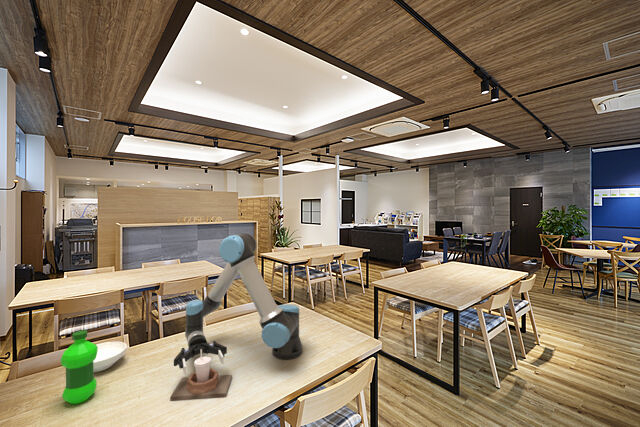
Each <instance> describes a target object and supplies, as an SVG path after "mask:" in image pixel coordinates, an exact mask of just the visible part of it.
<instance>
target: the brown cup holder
mask: <svg viewBox="0 0 640 427" xmlns="http://www.w3.org/2000/svg"><path fill="white" fill-rule="evenodd" d="M232 380H233V374H221V375H219V371H217V370H215V369H214V368H210V371H209V380H208V381H207V382H205V383H197V376H196V371H193V373H192V372H191V373H190V375H189V377H188V376H187V377H181V379H180V381H179V382H178V384H177V385H176V386H175V389H174V390H173V391H172V393H171V395H170V397H169V401H170V402H174V401H175V402H176V401H189V400H202V399H203V400H204V399H214V398H215V399H216V398H227V394H228V392H229V389H230V385H231V383H232Z"/></svg>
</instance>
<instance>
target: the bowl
mask: <svg viewBox="0 0 640 427" xmlns="http://www.w3.org/2000/svg"><path fill="white" fill-rule="evenodd" d="M95 345H96V346H97V347H98V351H97V356H96V359H95V360H94V361H93V370H94V373H98V372H99V373H100V372H102V371H105V370H107V369H108V368H110V367H112V366H113V365H114V364H115V363H116V362H117V361H118V360H120V359H121V358H122V357H124V355H125V354H126V352H127V346H128V345H127V343H125V342H122V341H106V342H101V343H96V344H95Z"/></svg>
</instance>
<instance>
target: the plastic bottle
mask: <svg viewBox="0 0 640 427" xmlns="http://www.w3.org/2000/svg"><path fill="white" fill-rule="evenodd" d="M87 337H88V330H85V329H84V330H79V331H75V332H73V333H72V336H71V338H72V341H73V343H72V344H71V345H69V346H68V348H67V349H65V350H64V351H63V353H62V356H61V358H60V364H61V366H62V367H64V368H65V387H64V390H63V392H62V396H61V397H62V399H63V401H64V402H67V403H69V404H72V405H78V404H81V403H83V402H85V401H87V400H88V399H89V398H90V397H91V396H92V395H93V394H94V393H95V391H96V389H97V385H98V384H97V382H98V381H97V379H96V378H95V377H94V373H95V372H94V370H93V361H94V360H95V359H96V356H97V351H98V347H97V346H96V344H95V343H93V342H91V341H89V340H86V338H87Z"/></svg>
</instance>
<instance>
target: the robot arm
mask: <svg viewBox="0 0 640 427" xmlns="http://www.w3.org/2000/svg"><path fill="white" fill-rule="evenodd" d="M219 245H220V246H219V248H218V249H219V250H218V251H219V255H220V258H221V259H222V260H223V261H224V262H226V265H225V266H224V268H223V270H222V271H221V273H220V274H219V276H218V277H217V279H216V281H214V282H215V283H214V284H213V285H212V287H211V288H210V289H209V292H208V294H207V295H206V296H205V298H204V299H203V300H201V299H194V300H191V301H188V302H187V303H186V307H185V330H184V331H185V333H184V334H185V340H186V342H187V346H188V348H185V347H182V348H181V349H180V352H178V354H177V355H176V356H175V358H173V366H174V367H177V366H178V368H179V369H182V371H183V375H185V374H187V363H186V362H188V360H190V359H192V358H194V357H195V356H198V355H201V352H200V350H201V349H202V354H207V355H208V354H212V355H217V357H218V359H219V362H220V364H221V365H223V364H224V363H225V362H224V358H225V354H227V353H228V352H227V351H228V347H227V346H225V345H223V344H220V343H217V341H216V340H213V341H212V342H211V343H208V341H207V338H206V335H205V333H204V318H205V317H206V316H208V315H209V314H211V313H213V312H214V311H217V309H219V308H220V307H221V303H222V299H223V298H224V297H225V294H227V292H228V291H229V288H230V287H231V285H233V283H234V281H235V280H236V278H237V276H238V275H239V277H240V279H241V281H242V283H243V285H244V287H245V289H246V291H247V293H248V295H249V297H250V299H251V301H252V303H253V304H254V307H255V309H256V311H257V313H258V314H259V317H260V318H259V325H260V326H261V328H262V330H261V335H260V336H261V340H262V341H263V343H264V344H265V345H266V346H267V347H270V348H272V350H271V351H272V352H271V354H272V356H274V357H275V358H277V359H281V360H293V359H296V358H298V357H300V356H301V355H302V354H303V352H304V351H303V347H304V346H303V344H302V341H301V340H302V339H301V337H300V308H299V306H298V305H295V304H289V303H287V304H279V305H277V303H276V302H275V299H274V297H273V295H272V294H271V292H270V290H269V287H268V285H267V283H266V281H265V280H264V278H263V275H262V273H261V272H260V270H259V267H258V266H257V264H256V262H255V258H256V255H255V253H256V250H257V247H258V246H257V245H258V244H257V241H256V238H255V237H254V236H253V235H251V234H249V233H247V232H246V233H240V234H231V235H230V236H227V237H225V238H223V240H222V241H221V242H220V244H219Z"/></svg>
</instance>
